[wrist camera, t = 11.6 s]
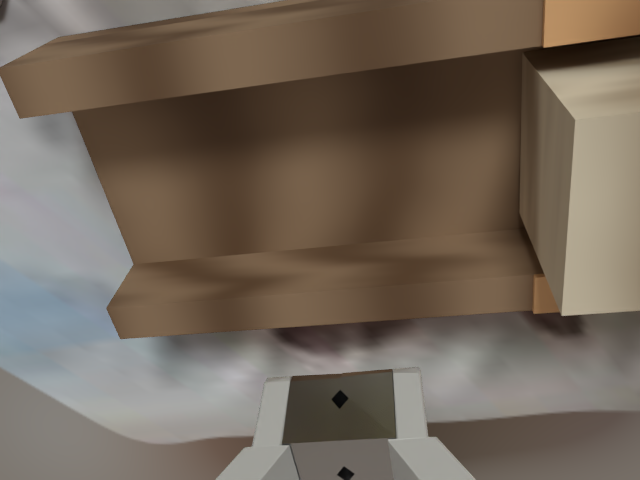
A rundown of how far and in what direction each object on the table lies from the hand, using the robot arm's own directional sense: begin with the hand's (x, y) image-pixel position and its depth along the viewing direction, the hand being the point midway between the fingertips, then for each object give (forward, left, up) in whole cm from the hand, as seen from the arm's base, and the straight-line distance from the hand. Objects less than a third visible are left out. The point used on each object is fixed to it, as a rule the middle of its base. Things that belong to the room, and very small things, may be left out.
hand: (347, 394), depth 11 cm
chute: (+1, 0, -13) cm, 13 cm away
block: (+9, 0, -12) cm, 14 cm away
